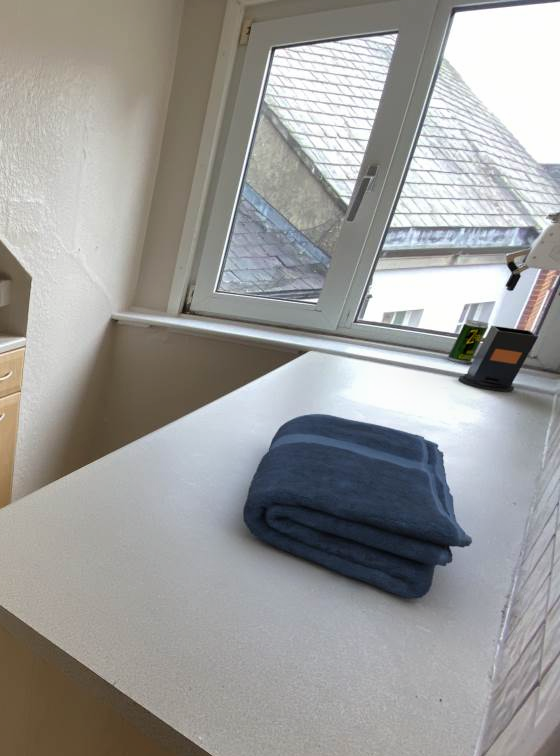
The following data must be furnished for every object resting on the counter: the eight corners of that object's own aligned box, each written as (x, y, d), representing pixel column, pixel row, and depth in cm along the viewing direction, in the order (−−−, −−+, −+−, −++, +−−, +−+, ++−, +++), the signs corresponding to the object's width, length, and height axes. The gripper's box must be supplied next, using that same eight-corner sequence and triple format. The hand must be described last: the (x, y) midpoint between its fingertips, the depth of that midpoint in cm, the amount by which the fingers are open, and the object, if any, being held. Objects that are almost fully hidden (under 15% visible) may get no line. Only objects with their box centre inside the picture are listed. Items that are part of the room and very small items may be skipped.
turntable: (507, 384, 149) (508, 381, 149) (517, 395, 141) (519, 392, 141) (455, 375, 155) (456, 372, 154) (461, 385, 147) (463, 382, 146)
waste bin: (506, 381, 149) (534, 330, 143) (515, 391, 141) (546, 338, 135) (460, 373, 154) (485, 324, 147) (466, 383, 146) (494, 331, 140)
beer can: (442, 357, 172) (461, 319, 166) (459, 358, 172) (479, 320, 166) (456, 362, 167) (476, 323, 161) (474, 363, 167) (495, 324, 161)
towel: (427, 483, 96) (455, 429, 91) (440, 615, 65) (484, 546, 61) (273, 441, 109) (291, 393, 104) (226, 536, 78) (248, 474, 74)
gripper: (530, 217, 131) (492, 289, 139) (635, 224, 123) (588, 301, 131) (522, 216, 137) (486, 286, 145) (622, 223, 128) (578, 296, 136)
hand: (535, 293), depth 138 cm, fingers open, 9 cm apart
